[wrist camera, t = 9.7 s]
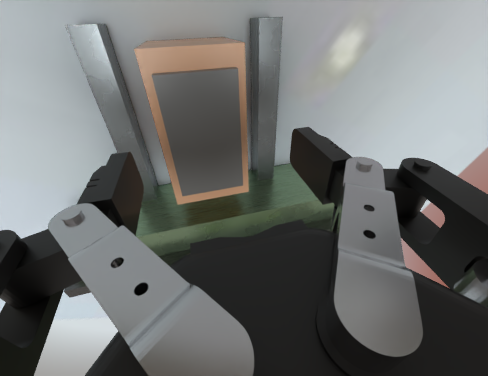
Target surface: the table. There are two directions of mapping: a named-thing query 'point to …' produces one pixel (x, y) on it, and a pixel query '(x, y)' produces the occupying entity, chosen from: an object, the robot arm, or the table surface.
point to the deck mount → (162, 197)
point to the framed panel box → (199, 113)
